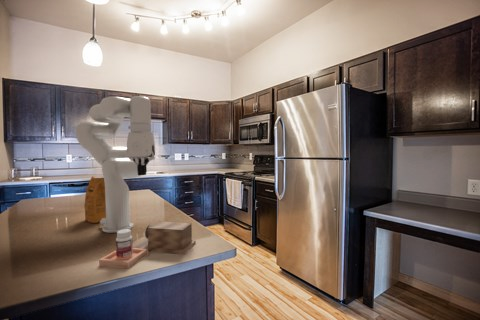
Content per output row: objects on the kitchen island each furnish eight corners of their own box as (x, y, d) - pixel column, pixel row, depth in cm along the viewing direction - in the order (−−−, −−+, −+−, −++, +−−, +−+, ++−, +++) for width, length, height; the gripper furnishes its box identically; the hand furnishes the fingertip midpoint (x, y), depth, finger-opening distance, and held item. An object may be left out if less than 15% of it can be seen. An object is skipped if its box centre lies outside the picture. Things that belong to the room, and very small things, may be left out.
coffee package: (102, 215, 129) (101, 175, 128) (113, 219, 122) (112, 176, 121) (81, 220, 121) (80, 177, 120) (92, 224, 114) (90, 178, 113)
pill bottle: (120, 254, 78) (119, 228, 78) (135, 253, 79) (134, 228, 79) (113, 260, 74) (112, 233, 73) (129, 260, 74) (128, 233, 74)
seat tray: (99, 265, 72) (98, 259, 72) (121, 251, 82) (121, 246, 82) (128, 268, 70) (128, 262, 70) (148, 254, 80) (147, 248, 80)
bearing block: (125, 249, 84) (125, 227, 84) (142, 239, 94) (142, 219, 94) (184, 254, 80) (183, 231, 79) (195, 243, 89) (195, 222, 89)
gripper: (117, 128, 92) (119, 175, 93) (152, 127, 89) (153, 176, 90) (130, 130, 100) (131, 174, 100) (163, 129, 97) (164, 174, 97)
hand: (142, 174), depth 95 cm, fingers closed
